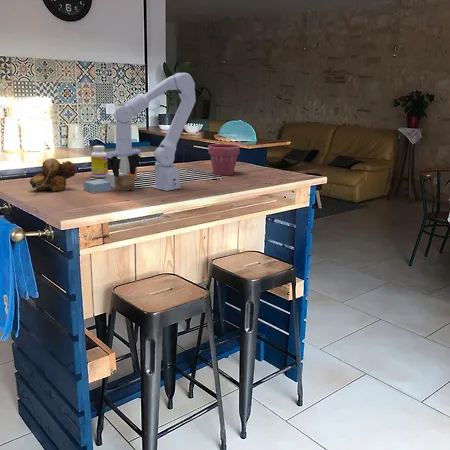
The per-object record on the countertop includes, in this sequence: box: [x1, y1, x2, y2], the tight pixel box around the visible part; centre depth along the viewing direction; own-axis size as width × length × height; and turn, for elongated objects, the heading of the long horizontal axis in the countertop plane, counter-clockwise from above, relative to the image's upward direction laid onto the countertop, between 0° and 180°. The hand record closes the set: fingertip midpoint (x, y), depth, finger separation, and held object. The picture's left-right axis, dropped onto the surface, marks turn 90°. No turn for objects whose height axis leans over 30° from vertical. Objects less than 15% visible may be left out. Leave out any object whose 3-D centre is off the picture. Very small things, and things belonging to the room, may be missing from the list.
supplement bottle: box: [90, 145, 109, 179], centre depth 212 cm, size 7×7×13 cm
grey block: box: [105, 172, 125, 189], centre depth 196 cm, size 5×5×5 cm
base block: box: [83, 179, 112, 194], centre depth 187 cm, size 7×7×4 cm
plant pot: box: [207, 143, 241, 176], centre depth 227 cm, size 14×14×13 cm
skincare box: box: [119, 154, 138, 180], centre depth 208 cm, size 6×4×12 cm
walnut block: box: [115, 175, 135, 192], centre depth 191 cm, size 5×5×5 cm
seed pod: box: [29, 157, 79, 193], centre depth 185 cm, size 13×16×15 cm
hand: (124, 175), depth 190 cm, fingers open, 7 cm apart
